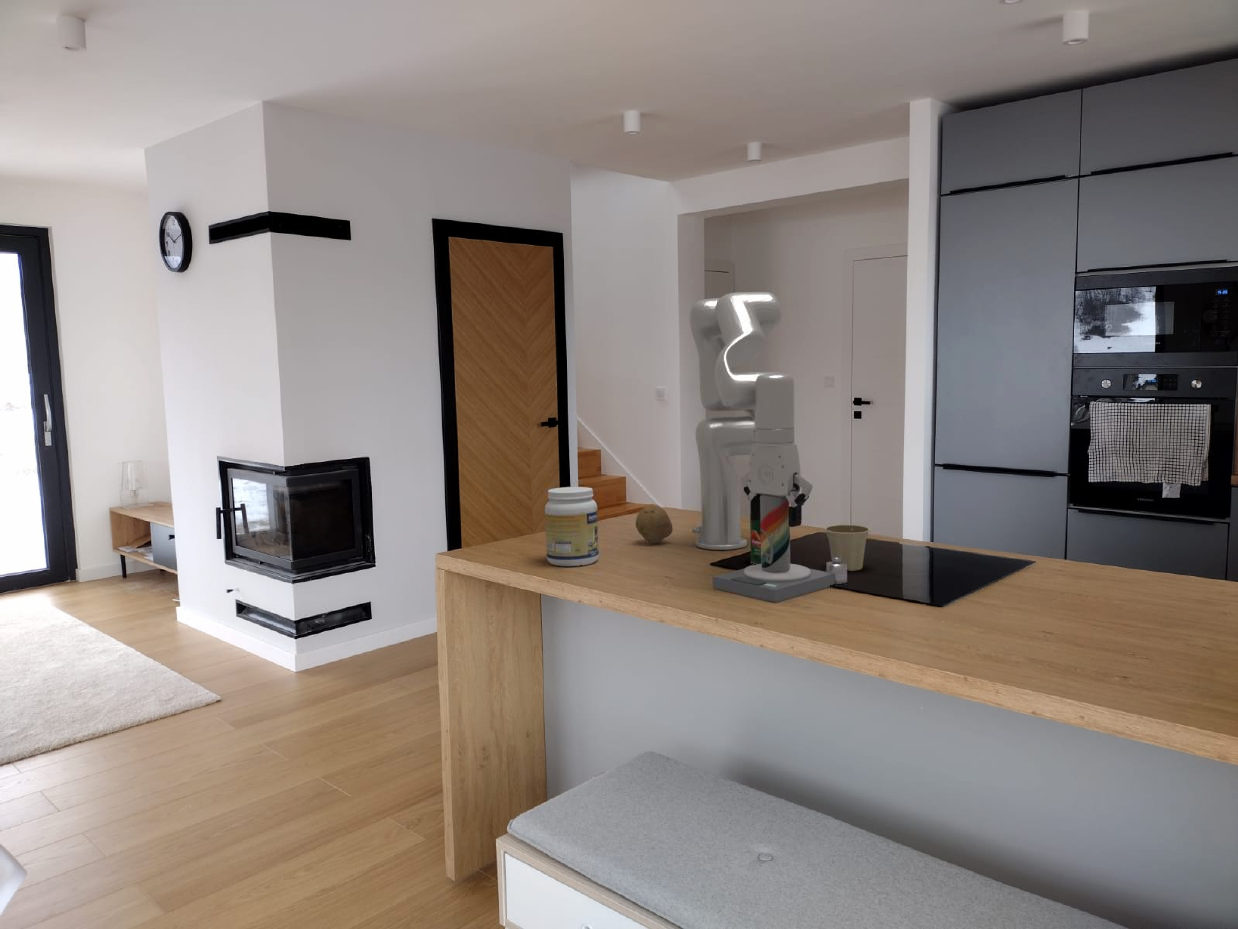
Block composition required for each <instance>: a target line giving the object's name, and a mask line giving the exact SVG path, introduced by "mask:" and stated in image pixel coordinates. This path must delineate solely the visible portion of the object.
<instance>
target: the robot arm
mask: <svg viewBox="0 0 1238 929" xmlns="http://www.w3.org/2000/svg"><path fill="white" fill-rule="evenodd" d="M781 318H782V308H781V304H780V301H779V299H778V297H777V296H776V295H774V293H772V292H768V291H743V292H742V291H738V292H736V291H735V292H730V293H726V294H724V295H722V296H721V297H717V298H715V297H714V298H713V297H712V298H705V299H701V300H698V301H696V302H694V304H693V305H692V307H691V308H690V314H689V325H690V326H689V327H690V331H691V334H692V335H691V336H692V338H693V340H694V343H695V346H696V348H697V350H696V351H697V353H698V363H699V364H698V366H699V367H698V368H699V372H698V374H699V393H700V401H701V405H702V407H703V409H705V410H707V411H709V412H735V411H736V412H737V411H739V412H740V411H741V412H742V411H744V412H745V415H743V416H742V415H741V416H715V417H714V416H713V417H709V418H706V419H703V420H701V421H700V422H699V423H698V424H697V426H696V428H695V442H696V446H697V452H698V459H699V472H700V476H699V478H700V508H701V509H700V513H701V525H699V524H697V525H696V526H695V527H693V528H692V533H693V534H697V535H698V538H697V539H696V540H695V546H696V547H698V548H699V549H706V550H713V551H715V550H716V551H720V550H721V551H722V550H723V551H725V550H726V551H727V550H728V551H729V550H736V549H743V548H744V547H746V546H747V545H748V540H747V539H746V538H744V537H741V535H742V534H741V496H740V495H741V493H740V491H741V486H740V482H741V484H742V488H743V492H744V493H745V494H746V496H747V500H748V501H749V502H750V505H749V506H750V507H749V508H750V509H749V510H750V513H749V518H750V517H751V521H755V520H760V519H761V518H760V496H761V495H762V494H763V495H770V496H779V497H783V496H786V498H787V500H788V501H789V508H788V525H789V527H790V528H794V527H799V526H801V525H802V520H803V517H802V516H803V515H802V511H803V509H802V508H803V507H802V506H804V505H805V503H806V502H807V500H808V499H809V498H810V494H811V493H812V490H813V488H814V486H813V484H812V483H810V482H809V481H807V480H806V479H805V478H804V477H802V476H801V464H800V456H799V451H798V446H797V444H796V443H795V380H794V377H793V375H791V374H788V373H782V372H778V371H750V370H748V371H747V370H746V371H736V368H738V367H741V366H743V365H744V364H747V363H749V362H752V361H753V360H755V359H756V358H757V357H758V356H760V355H761V353H763V351H764V349H765V348H766V343H767V342H766V337H765V334H764V333H766V332H767V333H768V332H771V331H773V330H775V329H776V328H778V326H779V324H780V322H781ZM734 456H749V463H748V473H747V474H745V475H743V476H740V473H739V470H738V468H737V467H736V466H735V464H734V463H733V462H732V461H731V460H730V458H729V457H734ZM800 491H801V492H800Z"/></svg>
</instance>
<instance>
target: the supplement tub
mask: <svg viewBox="0 0 1238 929" xmlns="http://www.w3.org/2000/svg"><path fill="white" fill-rule="evenodd" d="M593 492H594V490H593V488H592V487H586V486H566V487H565V486H564V487H556V488H551V489H548V491H547V499H548V500H549V501H547V503H545V505H544V515H545V516H544V519H545V521H544V522H545V540H546V541H545V543H546V547H545V548H546V560H547V562H548V564H551V565H552V566H557V567H581V566H580V565H582V566H589V565H591V564H593V563H595V562H596V561H597V560H598V559H599V556H600V548H599V530H598V529H599V528H598V527H599V526H598V525H599V522H598V505H597V502H596V501H595V500H594V499H592V498H593V497H594V493H593Z"/></svg>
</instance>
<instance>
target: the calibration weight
mask: <svg viewBox="0 0 1238 929" xmlns="http://www.w3.org/2000/svg"><path fill="white" fill-rule="evenodd" d="M825 565H826V567H825V570H826V571H825V572H830V573H835V583H836V584H842V583H846V582H847V583H848V570H847V563H845V562H841V557H832V558H831V561H828V562H826V564H825Z"/></svg>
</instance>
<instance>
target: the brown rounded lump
mask: <svg viewBox="0 0 1238 929" xmlns="http://www.w3.org/2000/svg"><path fill="white" fill-rule="evenodd" d="M635 528H636V529H637V531H638V533H639V534H640V535H641V537H643V539H644V540H645V541H647V542H649V543H650V544H652V545H653V544H654V545H655V544H659V543H660V542H662V541H663V540H664V539H665V538H668V537H669V536H670V535H672V533H673V524H672V521H671V519H670V517H669V515H668V513H667V512H666V510H665V509H664V508H663V507H662V506H660V505H658V504H654V503H651V504H647V505H646V506H643V507H642V508H641V509H640V510H639V512H638V513H637V515H636V519H635Z"/></svg>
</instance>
